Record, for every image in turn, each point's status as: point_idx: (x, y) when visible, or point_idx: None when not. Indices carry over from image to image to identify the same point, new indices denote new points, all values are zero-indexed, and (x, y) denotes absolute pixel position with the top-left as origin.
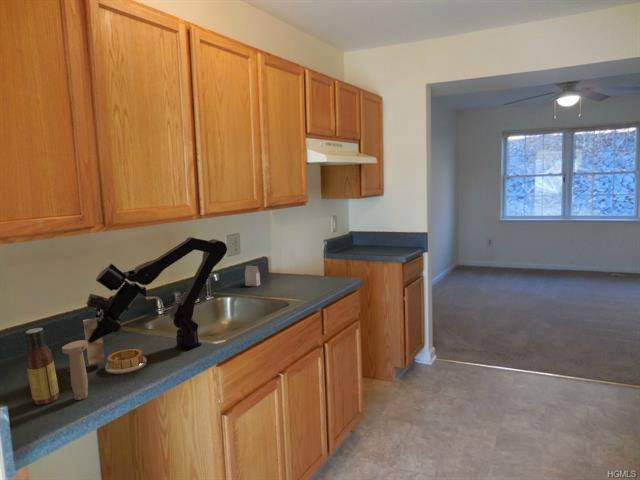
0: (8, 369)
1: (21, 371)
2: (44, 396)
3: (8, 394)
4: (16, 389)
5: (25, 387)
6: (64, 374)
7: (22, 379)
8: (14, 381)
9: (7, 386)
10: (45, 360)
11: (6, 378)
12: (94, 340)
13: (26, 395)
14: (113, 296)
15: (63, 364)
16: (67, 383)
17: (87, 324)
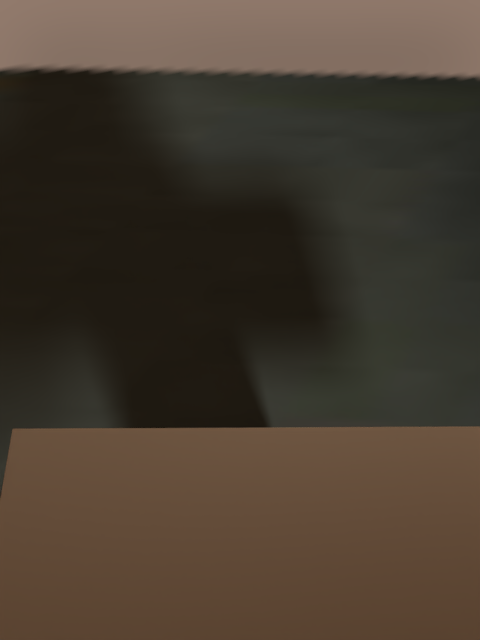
0: (465, 85)
1: (404, 128)
2: None
3: (102, 78)
4: (145, 104)
5: (143, 136)
6: (211, 315)
7: (276, 128)
8: (270, 101)
9: (219, 77)
10: None
11: (337, 76)
12: None
13: (17, 136)
14: None
15: (410, 317)
16: (24, 324)
17: (18, 608)
